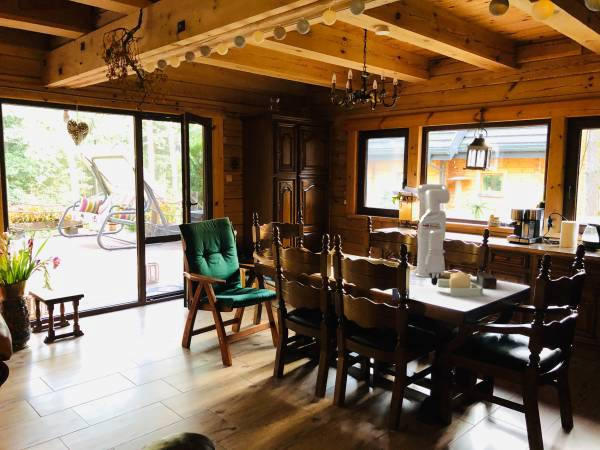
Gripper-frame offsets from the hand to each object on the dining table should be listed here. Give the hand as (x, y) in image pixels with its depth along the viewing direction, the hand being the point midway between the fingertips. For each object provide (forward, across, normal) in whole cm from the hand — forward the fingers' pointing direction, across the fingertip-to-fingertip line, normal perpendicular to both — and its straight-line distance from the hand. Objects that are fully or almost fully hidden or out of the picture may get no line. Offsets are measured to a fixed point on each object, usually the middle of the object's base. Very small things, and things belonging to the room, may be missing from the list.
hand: (434, 284), depth 273 cm
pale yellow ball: (+4, -14, 0) cm, 15 cm away
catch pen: (+4, -14, 0) cm, 14 cm away
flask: (+4, +24, +17) cm, 29 cm away
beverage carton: (+4, -36, -13) cm, 38 cm away
